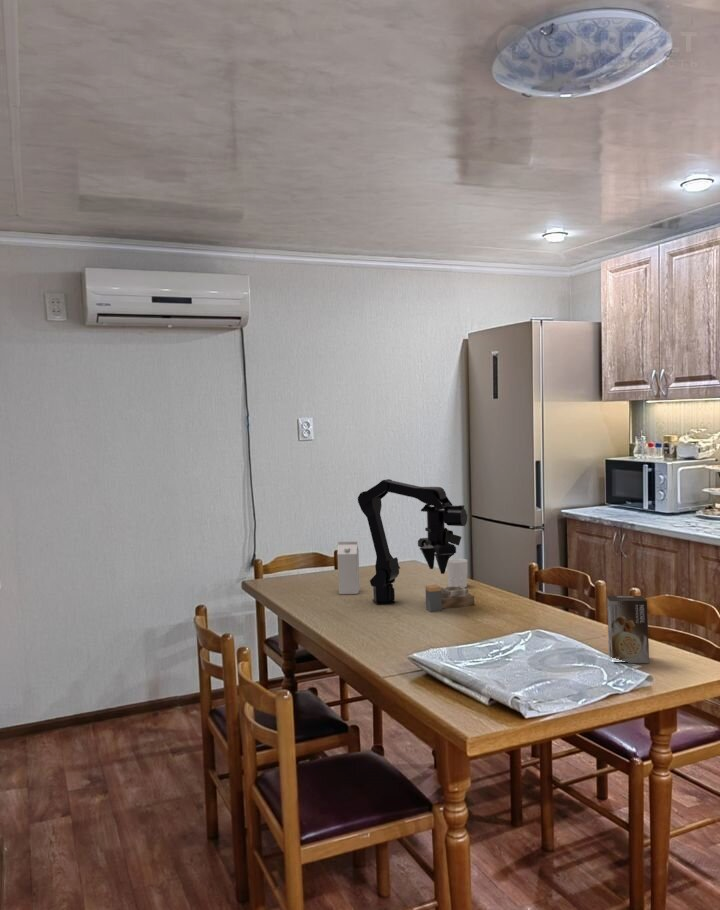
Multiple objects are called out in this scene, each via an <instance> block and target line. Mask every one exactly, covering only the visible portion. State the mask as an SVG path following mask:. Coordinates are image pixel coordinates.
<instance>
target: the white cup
mask: <svg viewBox="0 0 720 910" xmlns="http://www.w3.org/2000/svg"><path fill="white" fill-rule="evenodd" d="M446 573H447V581H448V582H447V583H448V585H447V586H459V585H460V586H462V587H464V588H466V589H467V586H468V583H467V580H468V559H465V558H449V560H448V563H447V566H446Z"/></svg>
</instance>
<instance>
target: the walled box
mask: <svg viewBox="0 0 720 910" xmlns="http://www.w3.org/2000/svg"><path fill="white" fill-rule="evenodd" d="M440 587H441V600H442V609H449V608H458V607H460V608H461V607H469V606H475V596H474V595H473V594H471V593H470V592H469V589H468V588H467V587H466V588H464V587H462V586H460V585H459V586H449V585H447V586H440Z"/></svg>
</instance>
